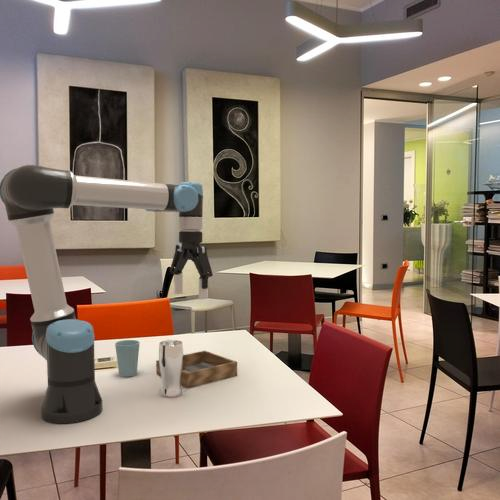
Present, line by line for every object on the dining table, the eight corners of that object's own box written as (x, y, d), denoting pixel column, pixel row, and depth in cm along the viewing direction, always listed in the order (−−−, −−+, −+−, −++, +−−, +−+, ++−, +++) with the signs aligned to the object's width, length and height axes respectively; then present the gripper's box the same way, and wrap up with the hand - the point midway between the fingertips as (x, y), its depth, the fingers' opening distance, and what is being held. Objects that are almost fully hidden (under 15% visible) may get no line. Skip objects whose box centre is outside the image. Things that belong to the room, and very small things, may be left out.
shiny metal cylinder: (186, 396, 146) (185, 344, 145) (162, 399, 144) (161, 346, 143) (180, 388, 153) (179, 338, 152) (157, 391, 150) (156, 341, 149)
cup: (142, 376, 165) (141, 344, 164) (118, 379, 162) (117, 346, 161) (137, 369, 172) (136, 338, 171) (114, 372, 169) (113, 341, 168)
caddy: (187, 388, 153) (187, 373, 153) (156, 374, 167) (156, 360, 166) (237, 375, 165) (237, 361, 165) (204, 363, 179) (204, 350, 179)
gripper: (224, 231, 159) (223, 300, 160) (178, 229, 178) (178, 291, 179) (204, 231, 154) (204, 302, 155) (159, 229, 173) (159, 292, 174)
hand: (190, 296), depth 167 cm, fingers open, 13 cm apart
